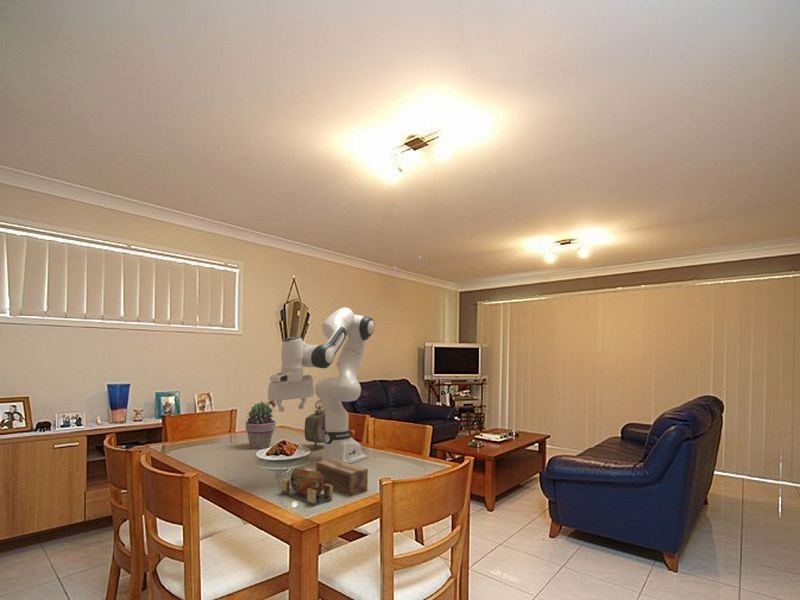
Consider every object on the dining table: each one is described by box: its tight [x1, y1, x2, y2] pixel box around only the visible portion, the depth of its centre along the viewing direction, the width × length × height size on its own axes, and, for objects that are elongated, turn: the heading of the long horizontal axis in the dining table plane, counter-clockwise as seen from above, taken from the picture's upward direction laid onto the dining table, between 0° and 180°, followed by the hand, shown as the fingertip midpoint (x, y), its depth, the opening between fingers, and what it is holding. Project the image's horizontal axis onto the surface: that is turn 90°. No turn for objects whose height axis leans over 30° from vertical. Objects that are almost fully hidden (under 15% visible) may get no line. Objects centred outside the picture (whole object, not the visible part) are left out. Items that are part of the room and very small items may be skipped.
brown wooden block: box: [315, 459, 369, 496], centre depth 175 cm, size 8×22×8 cm, turn 46°
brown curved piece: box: [290, 467, 324, 495], centre depth 164 cm, size 15×3×8 cm, turn 55°
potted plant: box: [241, 400, 277, 450], centre depth 243 cm, size 18×20×25 cm
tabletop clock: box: [304, 400, 325, 451], centre depth 242 cm, size 14×9×25 cm, turn 149°
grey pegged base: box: [280, 477, 334, 507], centre depth 164 cm, size 8×20×5 cm, turn 46°
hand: (291, 410), depth 184 cm, fingers open, 8 cm apart
